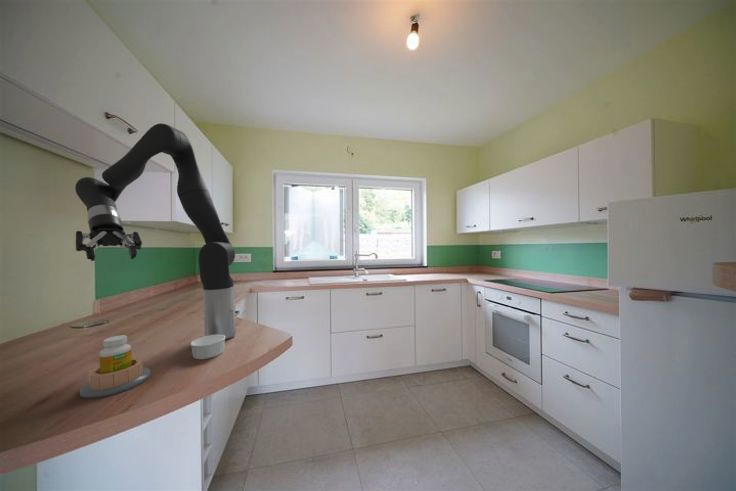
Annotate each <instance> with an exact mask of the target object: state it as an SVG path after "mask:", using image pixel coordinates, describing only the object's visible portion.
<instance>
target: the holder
mask: <svg viewBox="0 0 736 491" xmlns="http://www.w3.org/2000/svg"><path fill="white" fill-rule="evenodd" d="M150 377H151V368H149V367H146V366H144V360H143V359H142V358H141V357H132V366H131V367H129V368H126V369H123V370H120V371H117V372H113V373H107V374H100V365H99V366H97V367H95V368H93V369H92V370H91V371H89V372H88V381H87V382H86V383H84V384H83V385H82V386H81V387H80V388H79V397H81V398H82V397H83V398H82V399H100V398H104V397H109V396H113V395H116V394H120V393H123V392H126V391H128V390H131V389H133V388H135V387H137V386H139V385H141V384H143V383H144V382H146V381H147V380H148V379H150Z"/></svg>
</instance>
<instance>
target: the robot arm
mask: <svg viewBox="0 0 736 491" xmlns="http://www.w3.org/2000/svg"><path fill="white" fill-rule="evenodd" d="M161 153H163V154H166V155H169V156H170V157H171V158H172V161H173V163H174V164H175V167H176V170H177V173H178V178H177V185H176V193H177V197H178V198H179V202H180V204H181V206H182V208H183V211H184V212H185V214H186V215H187V217H188V218H189V220H190V221H191V222H192V223H193V224H194V225H195V227H196V228H197V229H198V230H199V232H200V234H201V235H202V237H203V239H204V243H205V244H203V245H202V247H201V248H200V250H199V253H198V268H199V278H200V283H202V289H203V290H202V291H203V292H202V293H203V320H204V336H209V335H217V334H218V335H224V336H225V340H227V339H230V338H235V336H236V331H237V327H236V326H237V322H236V321H237V320H236V306H235V298H234V297H235V292H234V290H235V288H234V278H233V277H231V275H230V269H229V268H230V265H232V264H233V262H234V261H235V259H236V251H235V248H234V247H233V245H232V243H231V241H230V239H229V237H228V236H227V234H226V232H225V230H224V227H223V226H222V223H221V221H220V220H221V219H220V217H219V214H218V213H217V210H216V207H215V205H214V204H215V203H214V202H213V199H212V196H211V194H210V191H209V189H208V187H207V186H206V183H205V180H204V178H203V174H202V173H201V169H200V168H199V165H198V161H197V158H196V154H195V151H194V148H193V145H192V141H191V139H190V137H189V136H188V135H187V134H185V133H184V132H183V131H182V130H179V129H178V128H175V127H173V126H171V125H169V124H166V123H161V122H160V123H157V124H154V125H153V126H151V127H149V129H148V130H147V131H146V132H145V133H144V134H143V136H141V138H139V140H138V141H137V142H136V143H135V144H134V145H133V146H132V147H131V149H130V150H128V152H127V153H126V154H125V155H124V156H122V157H121V158H120V159H119V160H117V161H116V162H115V163H113V164H112V165H110V166H109V167H108V168H106V169H105V170H104V171H103V172H102V173H101V178H102V179H103V181H104V182H103V181H101V180H99V179H97V178H95V177H90V176H87V177H86V176H85V177H81V178H80V179H78V180H77V181H76V183H75V193H76V195H77V197H78V198H79V200H81V203H82V204H84V205H85V207H86V210H87V211H86V212H87V224H88V227H89V233H85V232H84V233H83V231H82V230H77V231H75V251H76V252H82V251H84V252H85V253H86V259H87V260H90V261H91V262H94V261H95V260H96V255H95V250H97V249H98V248H99V247H101V246H102V247H110V246H111V247H117V246H118V247H120V248H122V249H126V250H128V255H129V258H130V259H131V260H135V258H136V257H137V255H138V252H137V250H142V245H143V241H142V240H141V237H140V235H139V232H137V231H133V232H132V233H127V232H125V230H124V226H123V223H122V218H121V216H120V214H119V211H118V208H117V205H116V202H117V201H118V199H119V197H120V195H121V194H122V193H123V191H124V190H125V189H126V187H128V186H129V185H131V184H132V183H133V182H135V181H136V180H137V179H139V178H140V177H141V176H142V174H143V173H144V171H145V168H146V165H147V163H148V162H149V160H150V159H152V157H154V156H156V155H158V154H161ZM87 239H89V240H90V241H89V242H88V243H86V244H85V243H84V241H86V240H87Z"/></svg>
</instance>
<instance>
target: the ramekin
mask: <svg viewBox="0 0 736 491" xmlns="http://www.w3.org/2000/svg"><path fill="white" fill-rule="evenodd" d="M225 340H226V339H225V336H224V335H218V334H217V335H209V336H205V335H204V336H200V337H198V338H196V339H193V340H192V341H191V342H190V344H189V345H190V347H191V353H192V357H193V359H195V360H206V359H208V360H209V359H212V358H215V357H217V356H220V355H221V354H223V353H224V351H225V342H226V341H225Z"/></svg>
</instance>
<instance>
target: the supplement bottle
mask: <svg viewBox="0 0 736 491" xmlns="http://www.w3.org/2000/svg"><path fill="white" fill-rule="evenodd" d="M127 342H128V336H127V335H126V334H125V335H124V334H123V335H122V334H120V335H114V336H110V337H107V338H104V339H103V342H102V343H103V347H104V348H103V349H101V350H100V352H99V366H100V374H107V373H113V372H117V371H120V370H123V369H126V368H129V367H131V366H132V358H133V357H132V346H131V344H129V343H127Z"/></svg>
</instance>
